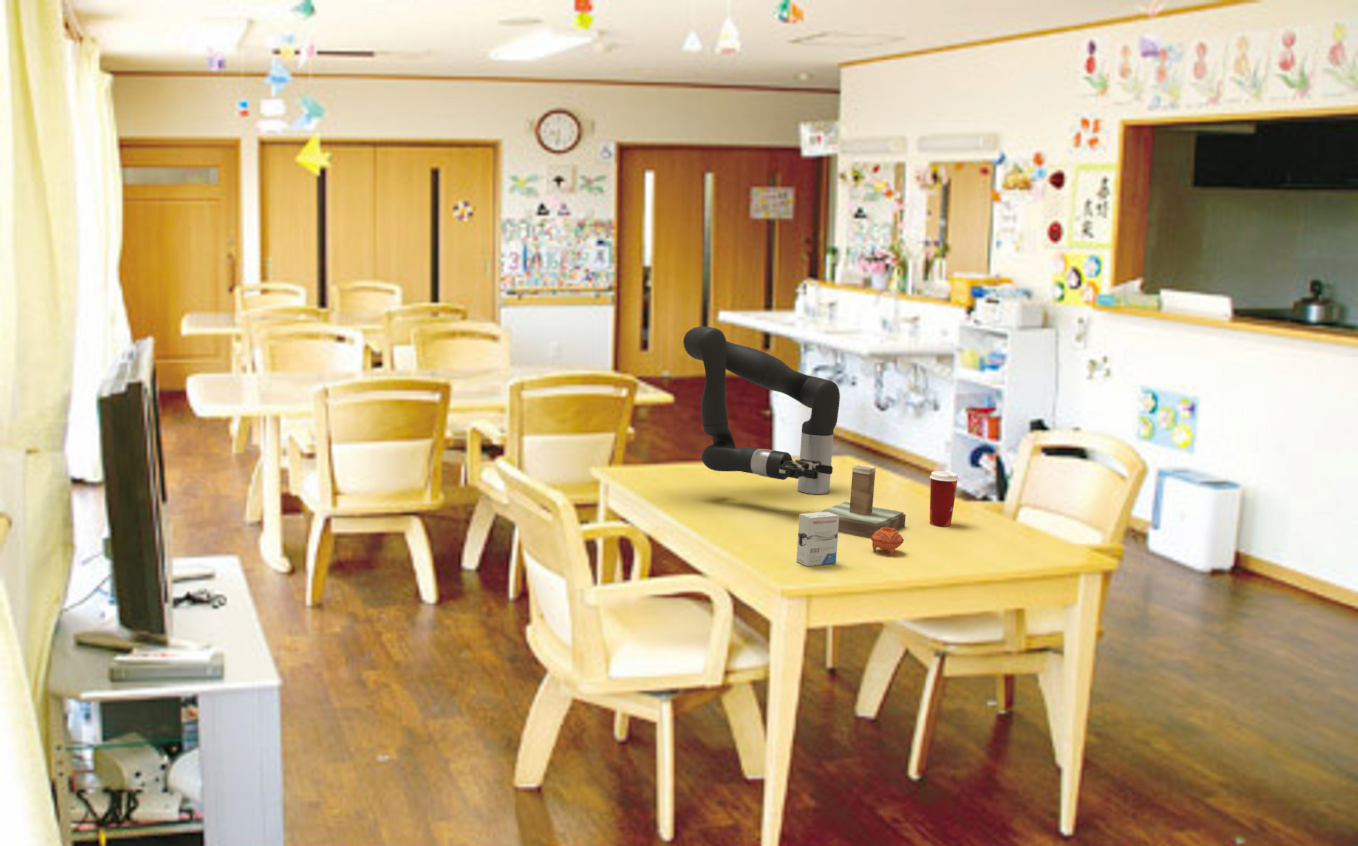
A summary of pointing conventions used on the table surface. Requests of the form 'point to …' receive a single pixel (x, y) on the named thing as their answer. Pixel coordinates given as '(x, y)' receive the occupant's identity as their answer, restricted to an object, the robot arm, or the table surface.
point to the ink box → (817, 538)
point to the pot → (886, 539)
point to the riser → (866, 520)
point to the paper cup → (942, 497)
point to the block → (862, 489)
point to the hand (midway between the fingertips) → (825, 472)
